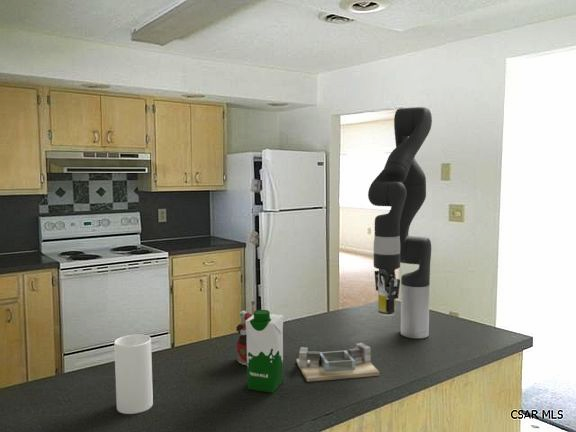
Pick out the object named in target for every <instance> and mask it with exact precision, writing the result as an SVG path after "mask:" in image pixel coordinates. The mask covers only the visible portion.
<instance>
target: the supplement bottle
mask: <svg viewBox="0 0 576 432" xmlns="http://www.w3.org/2000/svg"><path fill="white" fill-rule="evenodd" d="M387 288H389V287H387ZM377 294H378V296H377V297H378V299H377V301H378V303H377V306H378V307H377V313H378V315H379V316H382V317H393V316H394V315H395V313H396V308H395V307H396V306H395V305H396V304H395V303H396V299H394V312H391V313H388V312H386V293H385V292H384V290H383V285H380V292H379V293H378V292H377Z"/></svg>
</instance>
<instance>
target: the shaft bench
mask: <svg viewBox="0 0 576 432" xmlns="http://www.w3.org/2000/svg"><path fill="white" fill-rule="evenodd" d="M371 348H372V347H371V346H369V345H367V344H365V343H363V342H359V343H355V347H353V348H348V349H346V350H332V351H318V350H317V351H314V350H313V351H312V350H311V351H309V350H308V349H309V348H308V347H303V346H301V347H300V349H299V352H298V353H299V355H298V358H296V359H295V360H296V362H295V363H296V364H297V366H298V368H299V369H300V372H301V374H302V375H303V377H304V378H305V381H306V382H320V381H321V382H322V381H332V380H343V379H344V380H345V379H354V378H356V379H358V378H366V377H377V376H378V377H379V376H380V371H379V369H377V368H376V367H375V365H373V363H372V362H371V354H372V353H371V352H372V349H371Z"/></svg>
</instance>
